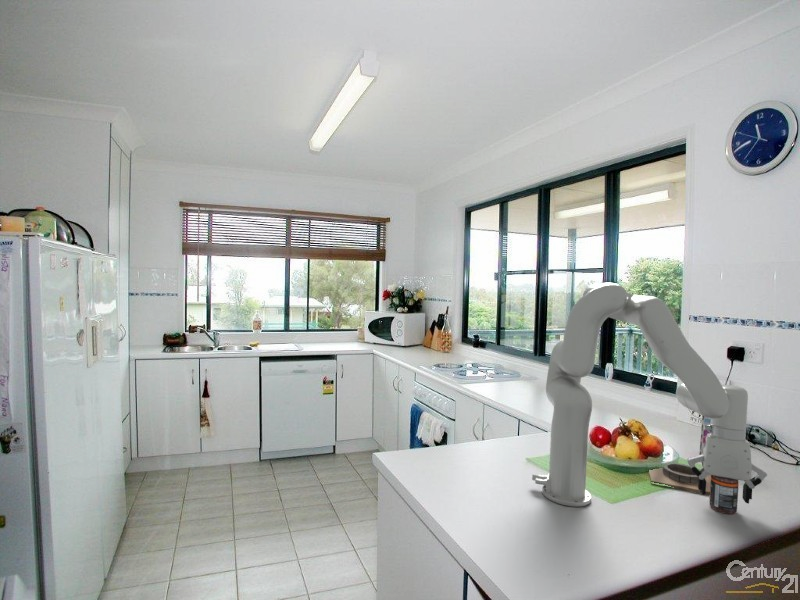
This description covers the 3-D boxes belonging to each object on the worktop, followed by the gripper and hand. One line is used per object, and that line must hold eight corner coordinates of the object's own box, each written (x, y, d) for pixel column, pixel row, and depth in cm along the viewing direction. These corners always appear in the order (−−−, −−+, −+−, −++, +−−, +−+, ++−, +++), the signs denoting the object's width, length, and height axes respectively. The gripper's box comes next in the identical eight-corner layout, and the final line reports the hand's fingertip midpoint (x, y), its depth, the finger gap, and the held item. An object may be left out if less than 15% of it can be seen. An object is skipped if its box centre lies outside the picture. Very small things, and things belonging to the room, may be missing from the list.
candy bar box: (716, 464, 149) (719, 416, 148) (698, 460, 152) (701, 413, 151) (716, 454, 158) (719, 409, 157) (699, 451, 161) (702, 406, 160)
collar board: (651, 484, 132) (651, 474, 132) (646, 462, 148) (646, 454, 148) (724, 498, 124) (725, 487, 124) (711, 474, 140) (711, 465, 140)
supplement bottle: (710, 501, 122) (712, 461, 121) (737, 509, 118) (739, 467, 118) (708, 509, 117) (710, 467, 117) (736, 517, 113) (739, 474, 113)
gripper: (691, 431, 117) (687, 495, 118) (773, 443, 110) (769, 511, 110) (686, 423, 124) (683, 484, 125) (764, 434, 117) (760, 498, 117)
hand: (723, 496), depth 118 cm, fingers open, 9 cm apart
